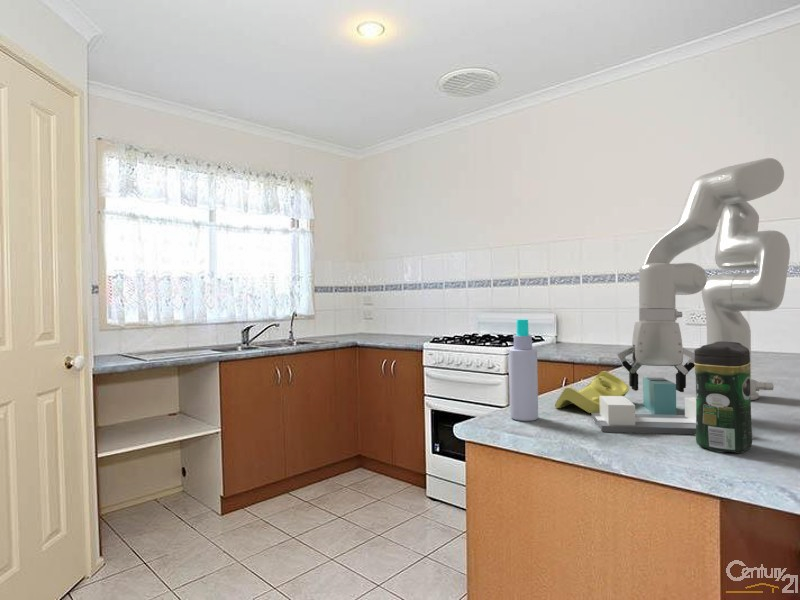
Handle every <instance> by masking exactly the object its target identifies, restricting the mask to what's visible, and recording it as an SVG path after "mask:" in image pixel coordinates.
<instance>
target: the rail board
mask: <svg viewBox="0 0 800 600" xmlns="http://www.w3.org/2000/svg"><path fill="white" fill-rule="evenodd" d="M599 401H600V413H592V414H591V419H592V418H593V419H594V421H595V422H596V423H595V422H594V421H593V422H594V423H595V425H596V424H597V425H598V426H597V425H596V426H597V428H598V429H599V428H600V429H601V430H600V429H599V430H600V432H601V431H604V432H603V433H623V432H635V433H634V434H657V433H671V434H670V435H691V434H696V396H694V397H692V396H689V397H688V396H685V397H684V414H676V415H663V414H653V413H652V414H651V413H636V405H635V404H634V403H633V402H632V401H631V400H629V399H628V398H626V396H599ZM593 419H592V420H593ZM636 432H637V433H636ZM672 433H673V434H672Z"/></svg>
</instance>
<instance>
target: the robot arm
mask: <svg viewBox="0 0 800 600" xmlns="http://www.w3.org/2000/svg"><path fill="white" fill-rule="evenodd" d="M784 177H785V170H784V167H783V164H782V163H781V162H780V161H779V160H778V159H775V158H772V157H767V158H761V159H760V158H759V159H757V160H756V159H755V160H752V161H747V162H743V163H739V164H734V165H729V166H725V167H722V168H719V169H717V170H715V171H713V172H708V173H706V174H702V175H700V176H699V177H696V179H695V180H694V181H693V182H692V183H691V186H690V188H689V191H688V194H687V197H686V199H685V202H684V205H683V207H682V211H681V213H680V214H679V215H680V216H679V218H678V220H677V223H676V224H675V225H674V226H673V227H672V228H671V229H670V230H668V231H667V232H666V233H665V234H664V235H663V236H662V237H661V238H660V239H659V240H658V241H656V243H654V245H653V246H652V247H651V249H650V250H649V252H648V254H647V255H646V258H645V261H644V264H642V265H640V267H639V272H638V281H639V282H638V288H639V289H638V294H639V295H638V298H639V299H638V304H639V305H638V308H639V309H638V312H639V313H638V316H639V318H638V321H635V323H634V327H633V333H632V341H631V342H632V343H631V346H630V347H628V348H625V349H623V350H622V351H621V350H620V352H617V353H616V357H617V359H618V360H619V362H620V363H621V366H622V367H624V369H626V371H628V372H629V373H628V375H629V376H628V379H629V380H628V383H629V385H628V386H630V387H631V389H632V390H633V391H639V373H637V372H638V370H639V369H640V368H641V367H642V366H645V367H647V366H648V367H649V366H652V367H673V368H675V370H676V371H677V372H676V373H675V384H676V391H678V392H680V393H684V392H685V389H686V388H687V375H688V374H689V372H690V371H691V370H692V369H694V368H695V365H694V363H695V362H694V358H695V353H694V352H693V351H690V350H688V349H686V348H684V346H683V338H682V334H681V333H682V332H681V327H680V324H679V322H677V319H679V318H682V317H683V311H678V310H677V308H676V296H687V295H689V296H690V295H696V294H697V293H699V292H700V293H701V297H702V302H703V307H704V312H705V319H706V320H705V321H706V345H708V344H712V343H715V342H719V341H725V342H737V343H740V344H741V345H743V346H745V347H746V348H748V349H749V353H750V396H751V401H754V400H758V399H759V398H760V394H759V391H762V390H764V391H773V390H774V388H775V387H774V383H773V382H766V381H765V382H762V381H757V380H756V379H754V378H752V345H751V344H752V343H751V341H752V339H751V338H752V337H751V334H752V331H751V326H750V324H749V322H748V320H747V319H746V317H745V316H744V315H743V314H742V312H771V311H775V310H777V309H778V308H779V307H780V305H782V302H783V299H784V296H785V292H786V283H787V277H788V270H789V264H790V257H791V249H790V243H789V240H788V238H787V236H786V235H785V234H784V233H782V232H781V231H778V230H770V229H769V230H760V231H758V230H759V222H760V215H759V214H758V211H757V210H756V209H755V207H753V206H752V205H751V204H750V203H749V202H750V201H754V200H757V199H759V198H763V197H764V196H767V195H770V194H772V193H773V192H776V191H777V190H778V189H779V188H780V187H781V186H782V184H783V182H784ZM718 226H719V229H718V228H717V227H718ZM717 229H718V232H717ZM716 232H717V233H718V235H717V239H716V246H715V254H714V260H715V261H714V262H715V264H716V266H717V267H718V268H719V269H721V270H724V271H725V270H726V271H749V270H750V271H751V270H752V271H753V270H755V271H756V270H757V272H743V273H742V272H736V273H735V272H734V273H719V274H716V275H712V276H709V277H708V276H707V272H706V270H705V269H704V268H703V267H702V266H701V265H699V264H696V263H692V262H680V263H671V262H672V261H673V260H674V259H675V258H676V257H677V256H679V255H680V254H682V253H684V252H686V251H687V250H690V249H692V248H695V247H696V246H698V245H701V244H702V243H704V242H706V241H708V240H709V239H711V238H712V237H713V236H714V235H715V233H716ZM707 277H708V278H707ZM630 355H631V360H632V362H631V363H629V362H628V360H627V358H626V357H627V356H630ZM684 356H686V357H688V358H689V359H688V361H687V362H686V363H685V364H684V365H683V361H684Z"/></svg>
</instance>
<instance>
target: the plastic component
mask: <svg viewBox="0 0 800 600" xmlns="http://www.w3.org/2000/svg"><path fill="white" fill-rule="evenodd" d="M629 390H630V387H629V385H628V384H627V383H626V382H625V381H624V380H622V379H621V378H619V377H618V376H616V375H614V374H613V373H610V372H608V371H607V370H604V371H600V372H599V373H598V374H597V375H596V376H595V377H594V378H593V379H592V381H590V382H589V383H588V384H587V385H586V386H585V387H584V388H582V389H580V390H576V389H575V388H573V387H571V386H568V387H566V388H564V390H563V391H562V392H561V394H560V395H559V397H558V399H557V400H556V402H555V404H554V407H555V408H556V409H558V408H560V409H562V407H563V408H565V407H566V405H567V406H569V405H571V404H574V405H575V406H577V407H578V408H580V409H582V410H583V411H585V412H587V413H588V414H590V413H591V414H590V415H592V413H600V401H599V396H624V397H626V395H627V394H628V392H629ZM564 406H565V407H564Z"/></svg>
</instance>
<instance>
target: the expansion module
mask: <svg viewBox="0 0 800 600" xmlns="http://www.w3.org/2000/svg"><path fill="white" fill-rule="evenodd" d="M642 396H643V397H642V400H643V402H642V403H643V407H644V408H646V410H648V411H649V412H650V411H651V412H650V413H652V414H663V415H677V390H676V382H675V383H674V382H673V381H670V380H668V379H667V378H665V377H660V376H659V377H651V376H649V377H647V376H645V377H644V376H643V377H642Z"/></svg>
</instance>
